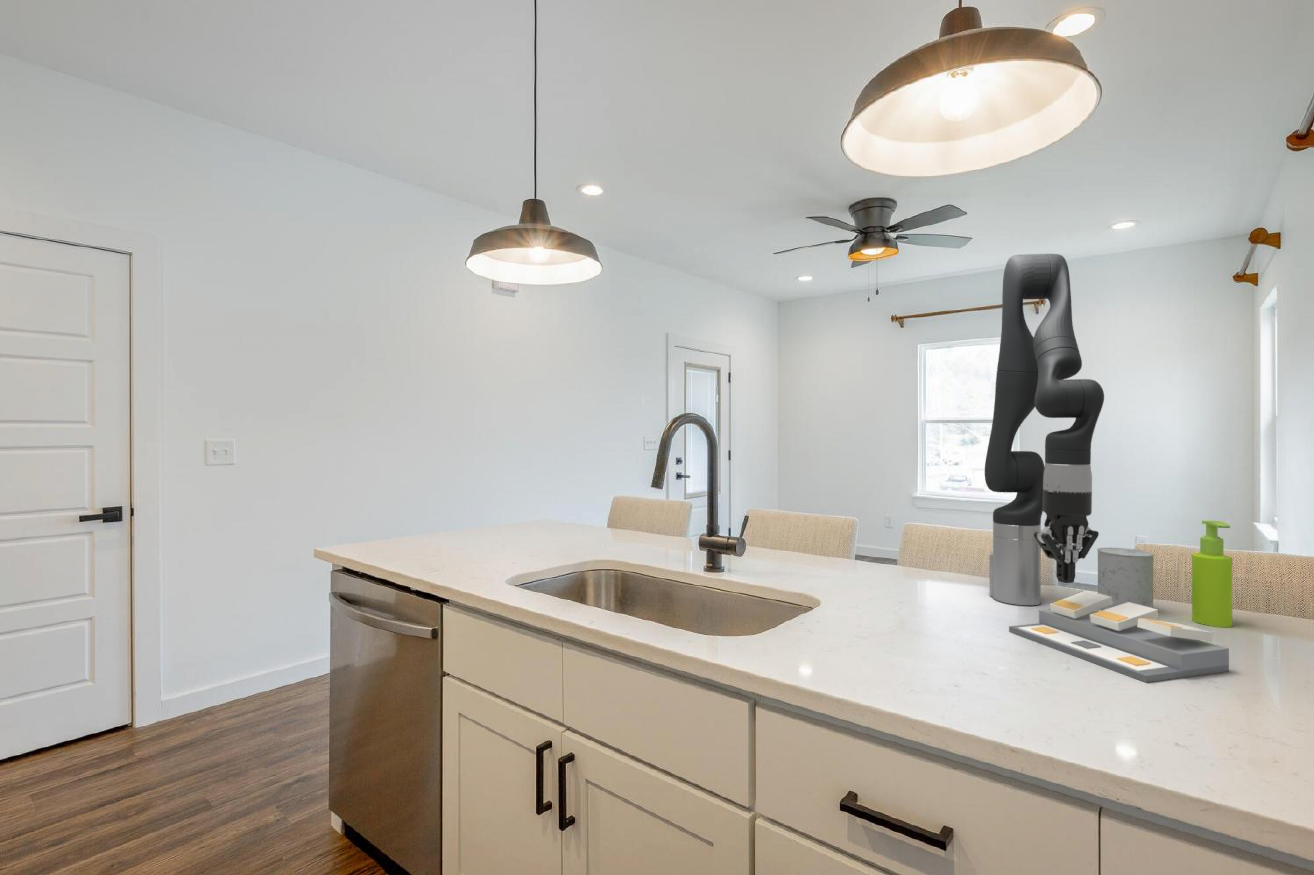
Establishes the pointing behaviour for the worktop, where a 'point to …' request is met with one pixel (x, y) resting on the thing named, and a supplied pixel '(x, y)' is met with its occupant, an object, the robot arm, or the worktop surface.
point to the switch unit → (1126, 648)
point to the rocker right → (1174, 629)
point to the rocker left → (1081, 604)
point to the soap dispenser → (1212, 580)
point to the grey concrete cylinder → (1126, 576)
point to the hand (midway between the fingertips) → (1065, 581)
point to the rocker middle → (1123, 616)
